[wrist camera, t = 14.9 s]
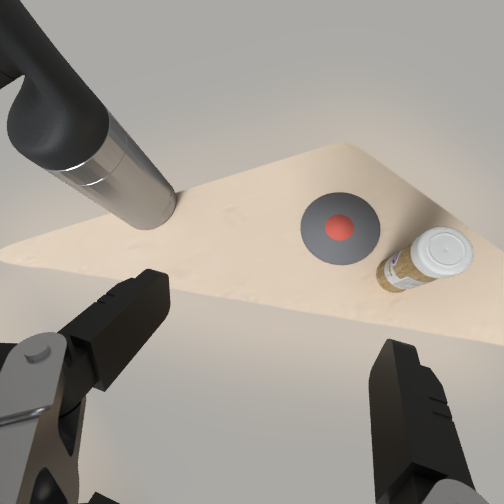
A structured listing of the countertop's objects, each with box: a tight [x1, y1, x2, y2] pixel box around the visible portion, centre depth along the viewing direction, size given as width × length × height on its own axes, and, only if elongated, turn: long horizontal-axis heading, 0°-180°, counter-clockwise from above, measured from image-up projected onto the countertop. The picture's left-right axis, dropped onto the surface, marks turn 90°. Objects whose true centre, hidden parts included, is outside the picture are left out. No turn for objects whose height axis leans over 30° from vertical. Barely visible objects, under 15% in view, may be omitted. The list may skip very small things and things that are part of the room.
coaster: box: [301, 193, 380, 265], centre depth 40 cm, size 11×11×1 cm
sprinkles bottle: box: [376, 227, 473, 293], centre depth 31 cm, size 5×5×14 cm
